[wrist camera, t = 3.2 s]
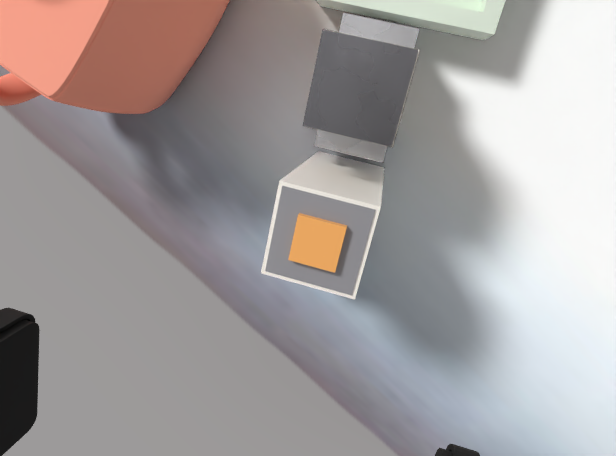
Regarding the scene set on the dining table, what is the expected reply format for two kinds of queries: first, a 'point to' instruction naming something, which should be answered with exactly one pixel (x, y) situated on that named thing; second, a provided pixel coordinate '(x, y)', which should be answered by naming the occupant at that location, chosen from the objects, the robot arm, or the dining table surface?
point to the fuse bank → (361, 86)
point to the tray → (431, 14)
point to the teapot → (102, 50)
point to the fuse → (324, 223)
